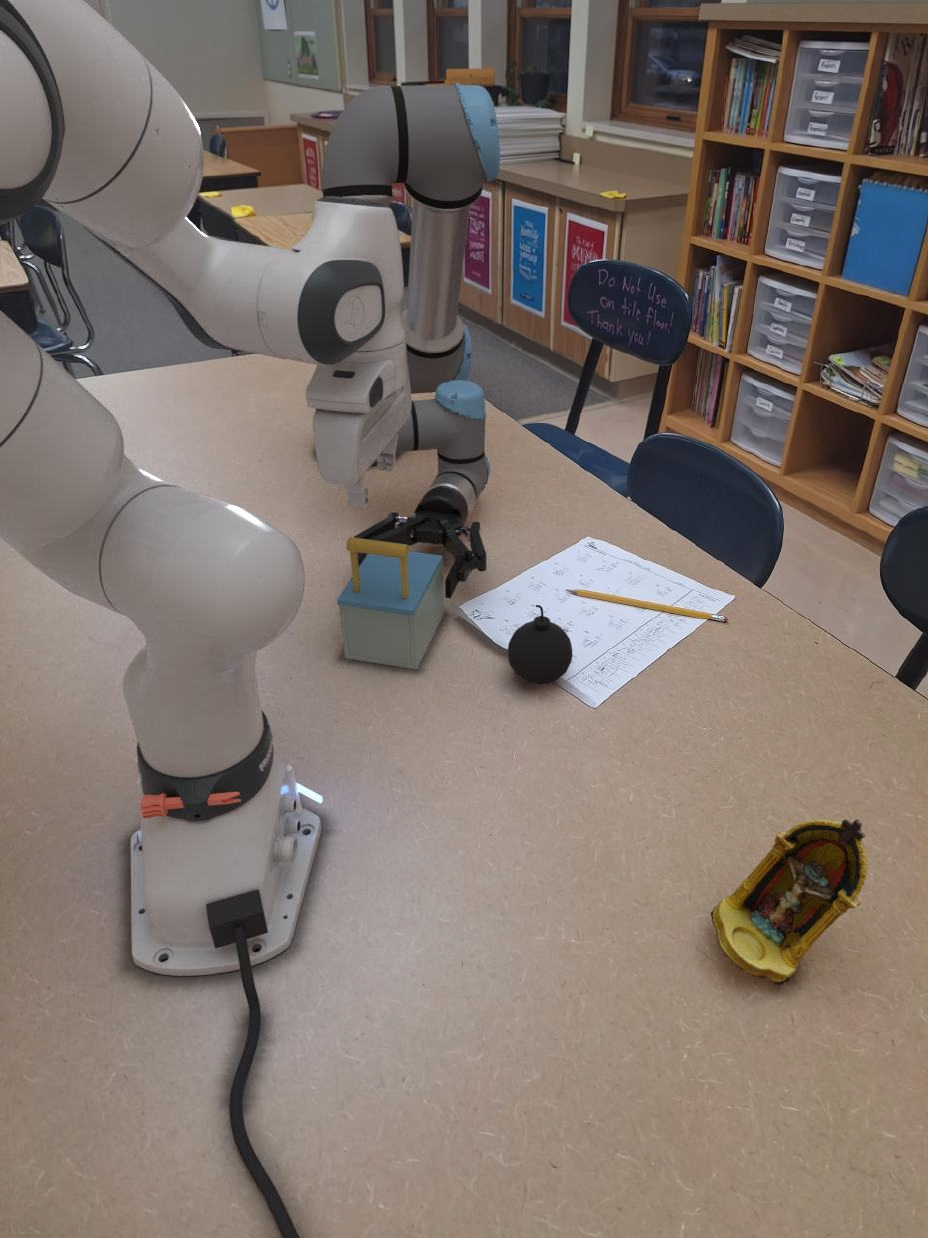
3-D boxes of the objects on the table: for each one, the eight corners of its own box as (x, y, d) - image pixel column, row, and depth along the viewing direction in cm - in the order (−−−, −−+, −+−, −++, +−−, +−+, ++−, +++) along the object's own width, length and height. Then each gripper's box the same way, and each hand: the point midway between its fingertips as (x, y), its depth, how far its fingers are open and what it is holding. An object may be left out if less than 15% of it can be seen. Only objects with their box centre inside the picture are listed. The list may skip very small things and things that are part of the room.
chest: (416, 670, 109) (414, 614, 104) (344, 658, 111) (338, 603, 106) (444, 614, 119) (442, 560, 114) (377, 604, 121) (373, 551, 116)
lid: (413, 616, 104) (410, 557, 99) (337, 604, 106) (331, 546, 101) (442, 560, 114) (441, 505, 109) (373, 551, 116) (369, 496, 111)
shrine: (791, 892, 81) (830, 781, 73) (851, 966, 75) (901, 853, 66) (686, 929, 78) (714, 817, 69) (739, 1009, 72) (776, 896, 63)
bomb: (524, 651, 112) (528, 573, 105) (580, 670, 109) (588, 591, 102) (495, 684, 106) (497, 604, 99) (553, 706, 103) (559, 625, 96)
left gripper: (369, 333, 98) (377, 446, 106) (297, 397, 82) (312, 524, 90) (422, 337, 97) (426, 451, 105) (360, 403, 81) (369, 532, 89)
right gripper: (522, 539, 131) (490, 619, 114) (371, 520, 136) (319, 593, 119) (524, 494, 126) (491, 571, 109) (368, 476, 131) (313, 547, 114)
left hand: (373, 486), depth 98 cm, fingers open, 8 cm apart
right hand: (401, 583), depth 114 cm, fingers open, 12 cm apart
